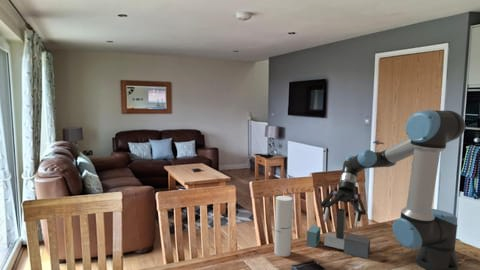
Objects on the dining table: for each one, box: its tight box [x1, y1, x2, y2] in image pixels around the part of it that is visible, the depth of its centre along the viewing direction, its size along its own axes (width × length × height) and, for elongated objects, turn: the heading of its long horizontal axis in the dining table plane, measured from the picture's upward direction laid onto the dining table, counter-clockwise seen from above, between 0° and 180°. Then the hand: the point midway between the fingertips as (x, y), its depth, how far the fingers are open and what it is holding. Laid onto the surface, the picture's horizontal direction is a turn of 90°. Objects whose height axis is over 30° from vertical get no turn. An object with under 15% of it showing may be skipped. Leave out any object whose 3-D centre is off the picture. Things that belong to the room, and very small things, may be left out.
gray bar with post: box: [323, 208, 346, 251], centre depth 146 cm, size 18×5×17 cm, turn 62°
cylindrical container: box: [274, 195, 293, 258], centre depth 142 cm, size 7×7×25 cm
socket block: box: [306, 224, 322, 248], centre depth 153 cm, size 4×8×7 cm, turn 152°
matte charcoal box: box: [343, 232, 371, 260], centre depth 144 cm, size 10×7×7 cm
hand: (339, 224), depth 146 cm, fingers open, 13 cm apart
